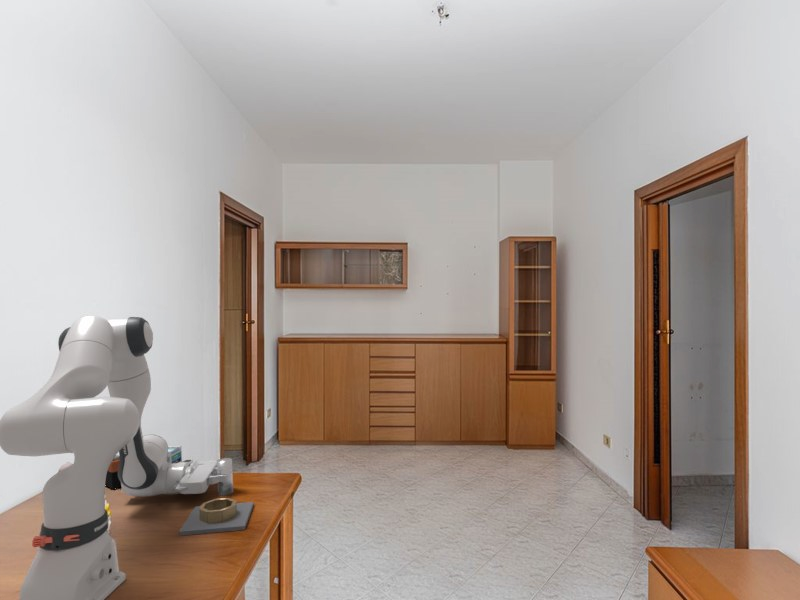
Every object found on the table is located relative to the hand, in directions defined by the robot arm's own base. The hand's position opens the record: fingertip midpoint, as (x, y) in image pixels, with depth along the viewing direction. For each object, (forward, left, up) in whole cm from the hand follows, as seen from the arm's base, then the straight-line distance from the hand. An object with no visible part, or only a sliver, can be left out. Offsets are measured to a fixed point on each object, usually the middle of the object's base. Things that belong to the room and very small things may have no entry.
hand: (227, 474), depth 162 cm
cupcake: (+10, +50, -6) cm, 51 cm away
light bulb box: (+16, +24, -6) cm, 29 cm away
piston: (0, +1, -6) cm, 6 cm away
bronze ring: (-20, -1, -4) cm, 21 cm away
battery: (+14, +38, -6) cm, 41 cm away
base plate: (-20, -1, -6) cm, 21 cm away
